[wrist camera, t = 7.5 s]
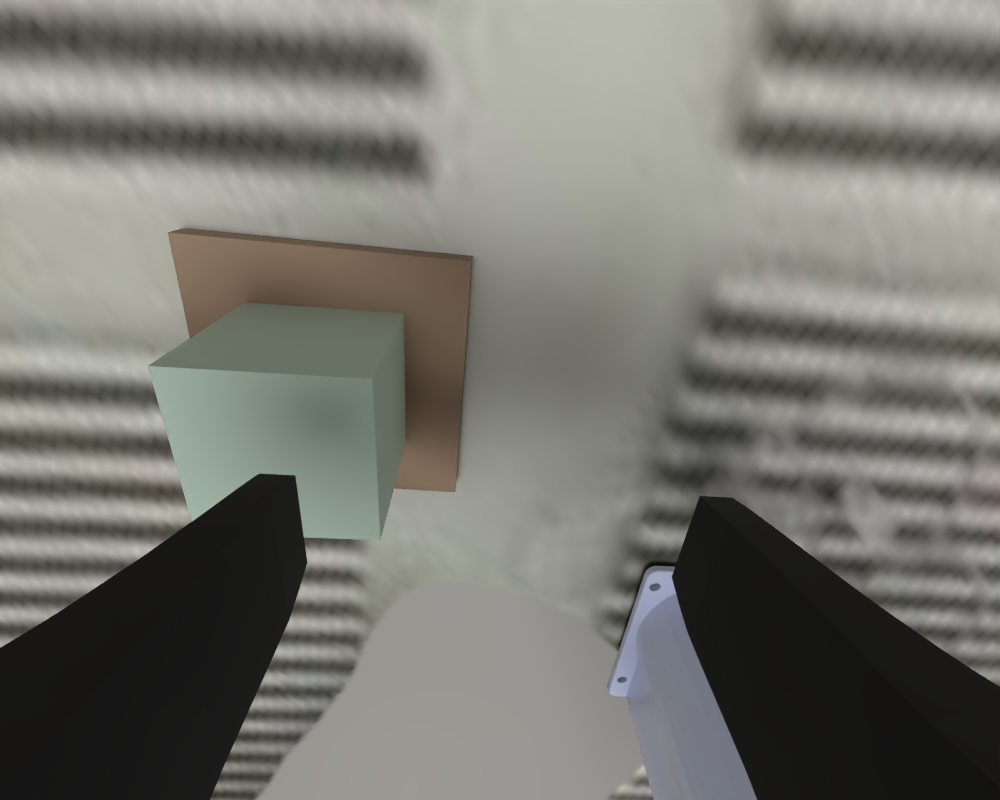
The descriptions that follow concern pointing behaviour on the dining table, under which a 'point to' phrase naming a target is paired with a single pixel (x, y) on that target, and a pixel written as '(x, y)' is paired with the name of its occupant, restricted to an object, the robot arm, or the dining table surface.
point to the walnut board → (355, 286)
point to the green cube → (291, 411)
